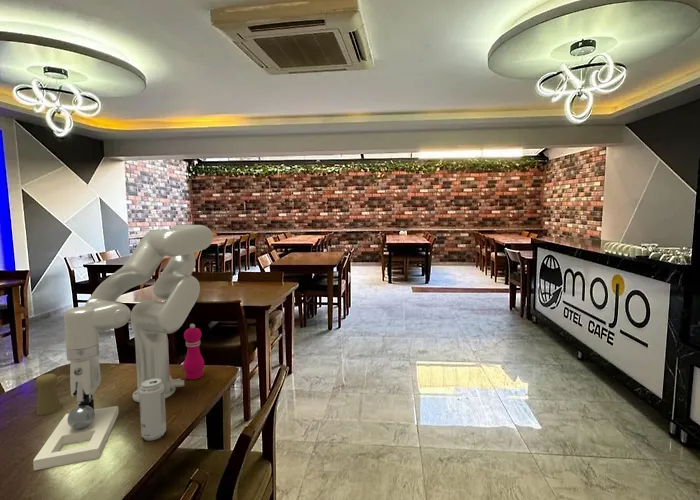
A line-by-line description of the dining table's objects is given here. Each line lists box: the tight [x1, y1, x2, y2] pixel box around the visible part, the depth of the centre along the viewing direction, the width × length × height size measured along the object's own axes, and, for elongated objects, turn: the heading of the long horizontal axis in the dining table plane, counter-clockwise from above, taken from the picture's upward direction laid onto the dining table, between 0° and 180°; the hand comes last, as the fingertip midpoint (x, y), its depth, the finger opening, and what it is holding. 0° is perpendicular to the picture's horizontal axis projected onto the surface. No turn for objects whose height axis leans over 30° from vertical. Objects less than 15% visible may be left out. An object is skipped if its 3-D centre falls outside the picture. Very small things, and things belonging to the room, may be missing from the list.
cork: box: [34, 373, 62, 416], centre depth 115 cm, size 6×6×11 cm
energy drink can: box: [138, 378, 167, 442], centre depth 102 cm, size 6×6×15 cm
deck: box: [32, 405, 119, 471], centre depth 101 cm, size 13×22×2 cm, turn 21°
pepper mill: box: [182, 323, 205, 380], centre depth 138 cm, size 7×7×20 cm
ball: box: [67, 405, 95, 430], centre depth 101 cm, size 6×6×6 cm
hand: (86, 414), depth 107 cm, fingers closed
